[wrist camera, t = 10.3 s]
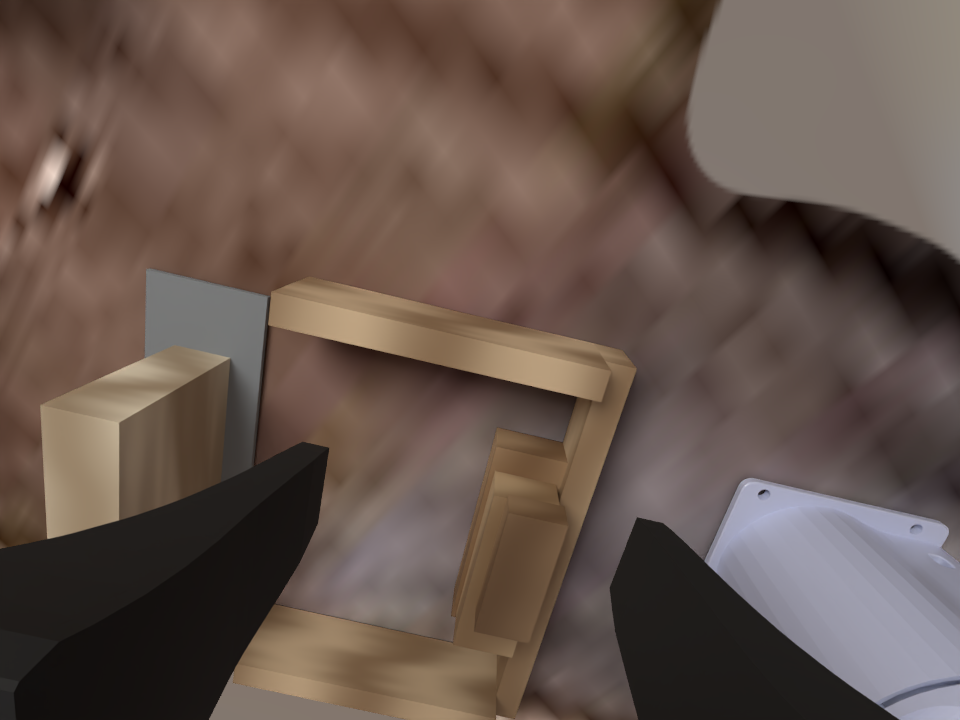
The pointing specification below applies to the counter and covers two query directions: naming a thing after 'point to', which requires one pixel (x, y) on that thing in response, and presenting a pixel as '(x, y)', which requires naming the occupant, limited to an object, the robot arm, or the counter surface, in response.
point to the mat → (215, 346)
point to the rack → (600, 400)
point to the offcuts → (511, 544)
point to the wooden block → (134, 439)
